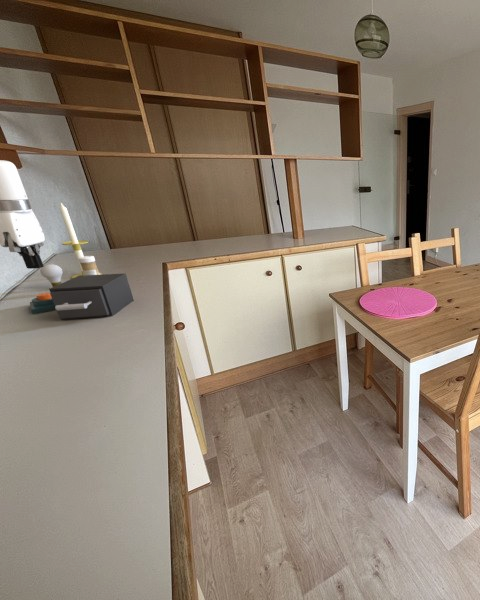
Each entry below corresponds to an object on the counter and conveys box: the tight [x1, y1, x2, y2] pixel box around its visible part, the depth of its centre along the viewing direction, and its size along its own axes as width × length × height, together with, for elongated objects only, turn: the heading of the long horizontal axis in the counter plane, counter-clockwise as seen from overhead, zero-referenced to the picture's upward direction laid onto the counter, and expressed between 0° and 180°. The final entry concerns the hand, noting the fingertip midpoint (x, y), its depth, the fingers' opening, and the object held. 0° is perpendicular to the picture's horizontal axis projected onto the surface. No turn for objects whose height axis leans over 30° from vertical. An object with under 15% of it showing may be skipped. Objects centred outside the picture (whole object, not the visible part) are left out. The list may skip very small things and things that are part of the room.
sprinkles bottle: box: [77, 255, 100, 275], centre depth 124 cm, size 5×5×13 cm
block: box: [29, 297, 57, 315], centre depth 108 cm, size 10×8×4 cm
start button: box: [36, 292, 52, 300], centre depth 107 cm, size 4×4×2 cm
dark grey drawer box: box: [48, 273, 135, 321], centre depth 106 cm, size 15×14×11 cm
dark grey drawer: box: [49, 288, 109, 320], centre depth 103 cm, size 18×12×9 cm
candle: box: [59, 202, 102, 279], centre depth 137 cm, size 10×10×32 cm
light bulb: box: [40, 263, 64, 287], centre depth 125 cm, size 6×6×10 cm
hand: (35, 267), depth 97 cm, fingers closed
